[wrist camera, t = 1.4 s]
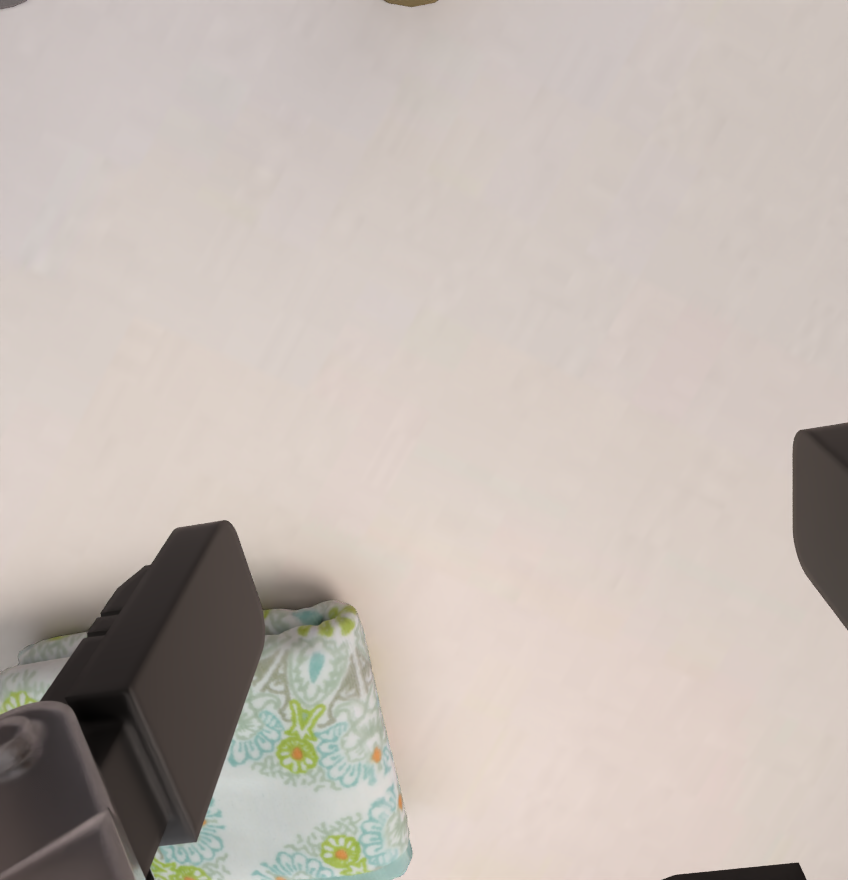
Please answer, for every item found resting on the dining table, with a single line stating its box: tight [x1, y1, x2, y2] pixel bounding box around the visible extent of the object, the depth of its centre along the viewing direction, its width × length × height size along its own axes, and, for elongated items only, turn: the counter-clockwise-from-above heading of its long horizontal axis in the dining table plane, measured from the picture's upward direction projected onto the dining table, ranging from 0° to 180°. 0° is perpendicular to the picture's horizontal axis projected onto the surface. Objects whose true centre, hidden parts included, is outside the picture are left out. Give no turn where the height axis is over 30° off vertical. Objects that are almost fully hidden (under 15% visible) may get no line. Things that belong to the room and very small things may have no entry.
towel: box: [0, 600, 412, 880], centre depth 45 cm, size 18×21×5 cm
